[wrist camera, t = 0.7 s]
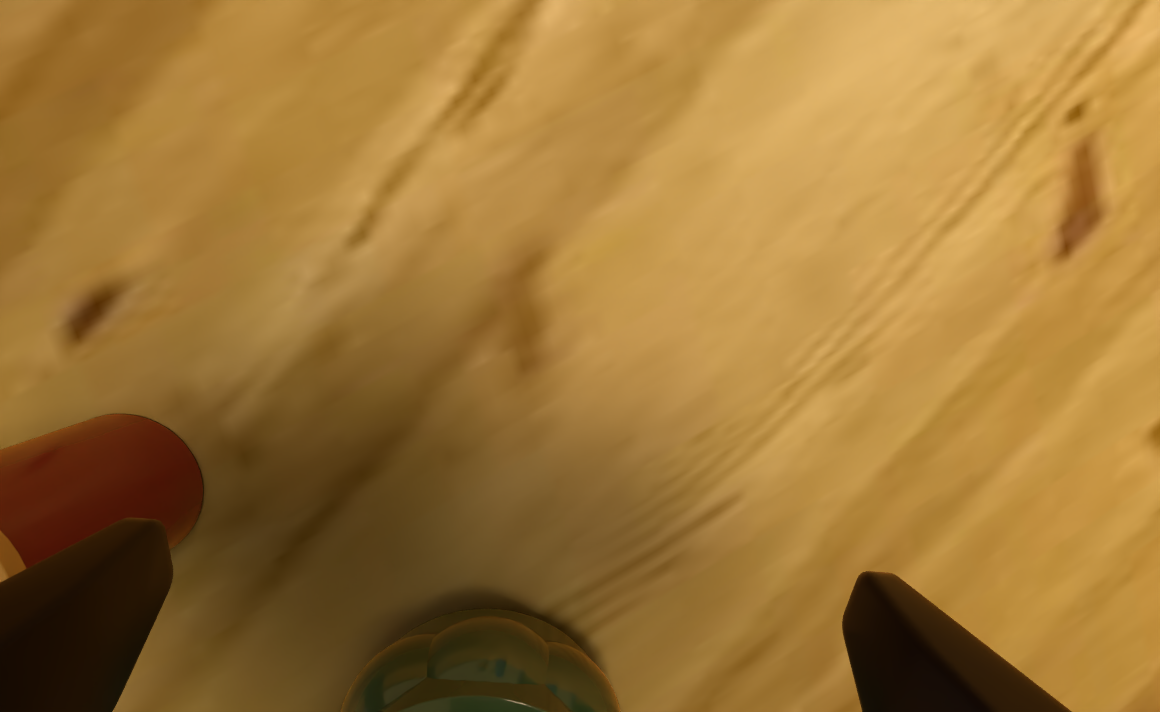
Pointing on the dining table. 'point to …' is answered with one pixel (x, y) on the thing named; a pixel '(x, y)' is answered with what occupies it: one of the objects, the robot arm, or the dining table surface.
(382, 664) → the lidded pot
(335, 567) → the dining table surface
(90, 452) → the tea canister
